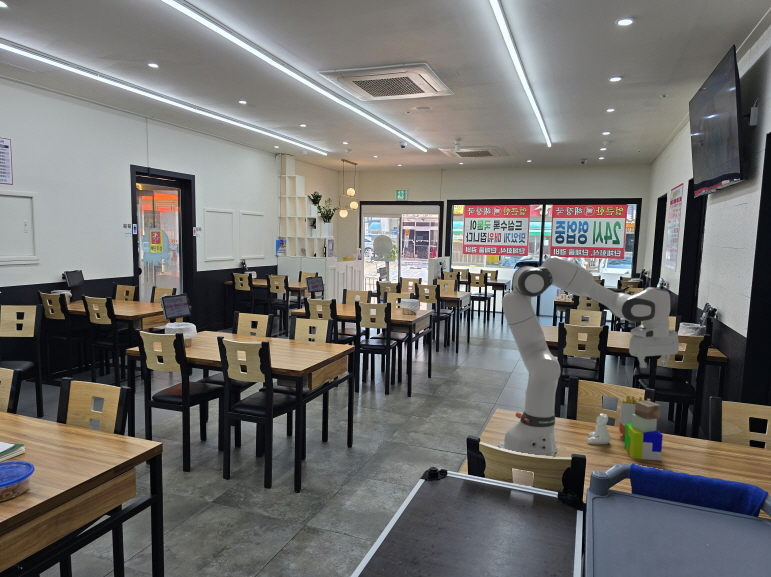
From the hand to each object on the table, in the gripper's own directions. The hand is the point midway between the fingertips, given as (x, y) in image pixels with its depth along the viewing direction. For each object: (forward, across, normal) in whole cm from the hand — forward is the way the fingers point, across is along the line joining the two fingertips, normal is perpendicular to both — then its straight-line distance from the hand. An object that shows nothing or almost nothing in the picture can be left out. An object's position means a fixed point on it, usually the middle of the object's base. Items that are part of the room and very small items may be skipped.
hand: (653, 366), depth 190 cm
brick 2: (+24, +2, -1) cm, 24 cm away
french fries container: (+34, -7, -15) cm, 38 cm away
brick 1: (+19, +1, 0) cm, 19 cm away
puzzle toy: (+34, +2, -1) cm, 35 cm away
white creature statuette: (+34, +10, -15) cm, 39 cm away
